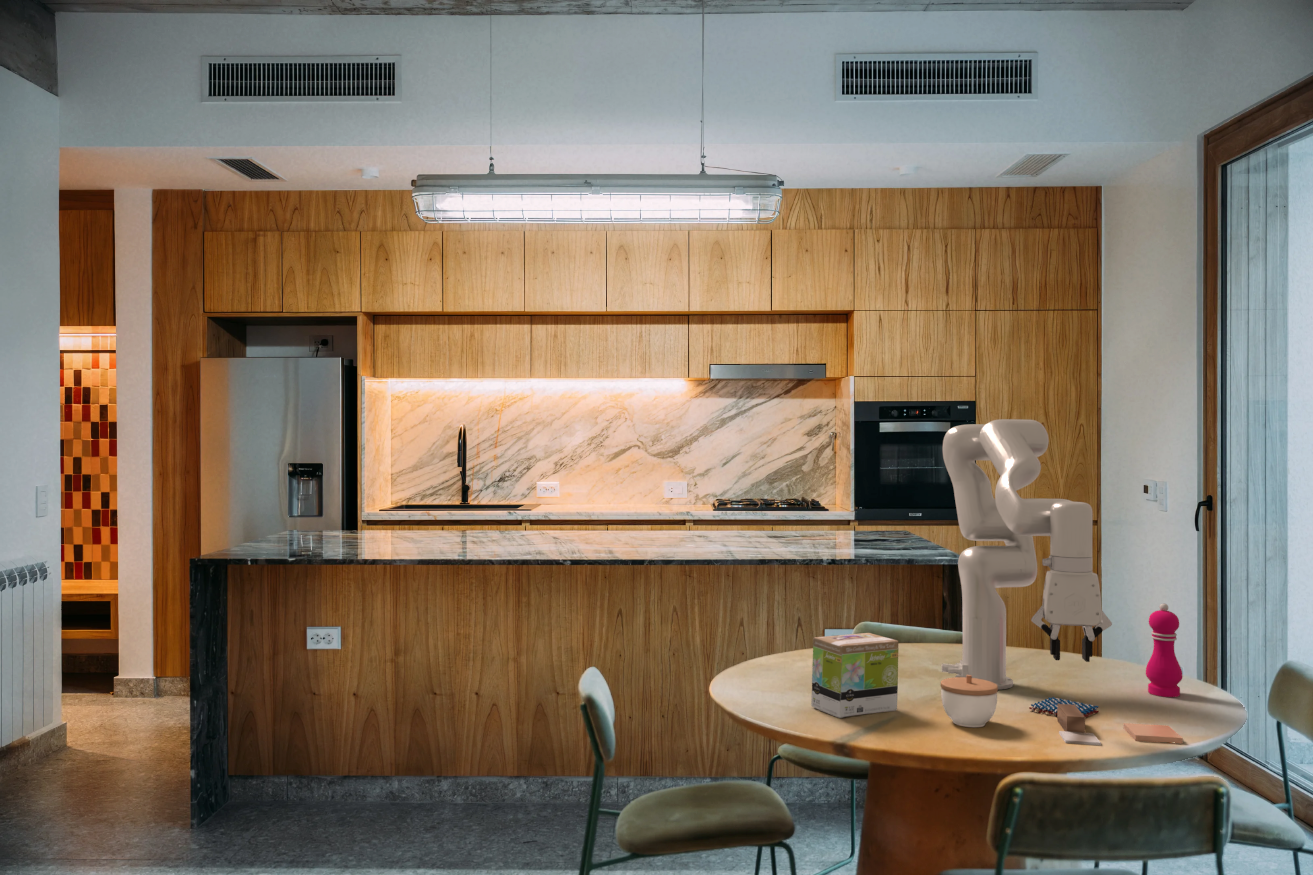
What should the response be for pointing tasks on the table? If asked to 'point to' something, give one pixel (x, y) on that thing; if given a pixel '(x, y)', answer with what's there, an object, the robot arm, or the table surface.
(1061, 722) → the turner
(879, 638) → the tea box
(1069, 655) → the table surface
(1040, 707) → the woven mat
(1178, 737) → the tile
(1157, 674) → the pepper mill
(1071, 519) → the robot arm
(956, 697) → the lidded jar
